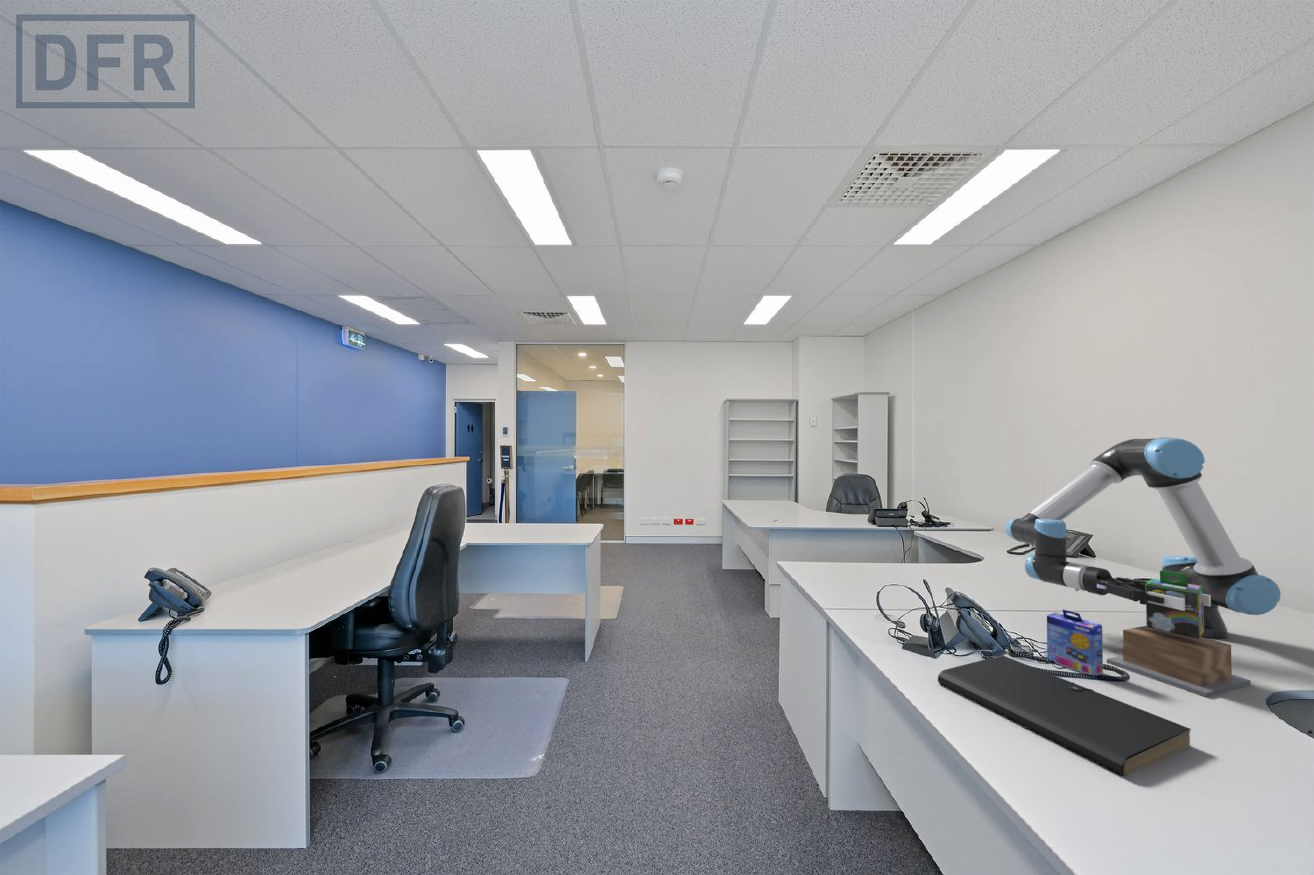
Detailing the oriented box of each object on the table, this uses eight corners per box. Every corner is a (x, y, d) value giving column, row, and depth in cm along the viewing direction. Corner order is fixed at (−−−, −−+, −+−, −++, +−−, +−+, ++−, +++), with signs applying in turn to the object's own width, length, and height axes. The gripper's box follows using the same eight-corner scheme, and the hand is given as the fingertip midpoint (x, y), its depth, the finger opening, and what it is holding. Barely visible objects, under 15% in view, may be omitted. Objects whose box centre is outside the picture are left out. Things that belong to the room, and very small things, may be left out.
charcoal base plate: (1150, 653, 128) (1150, 649, 129) (1250, 684, 112) (1250, 680, 112) (1106, 662, 122) (1106, 658, 122) (1206, 697, 105) (1205, 692, 105)
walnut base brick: (1154, 653, 126) (1153, 624, 126) (1231, 677, 112) (1231, 644, 113) (1123, 660, 121) (1123, 629, 121) (1200, 686, 108) (1199, 651, 108)
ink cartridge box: (1045, 661, 122) (1045, 605, 122) (1055, 657, 125) (1055, 603, 125) (1093, 677, 113) (1093, 618, 114) (1103, 673, 116) (1103, 615, 116)
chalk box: (1204, 632, 116) (1204, 572, 116) (1200, 640, 111) (1199, 578, 111) (1151, 620, 124) (1151, 565, 124) (1144, 627, 118) (1144, 569, 119)
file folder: (1191, 726, 87) (1121, 757, 78) (1191, 748, 87) (1121, 782, 78) (1003, 653, 117) (937, 670, 108) (1003, 670, 117) (937, 687, 108)
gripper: (1112, 588, 138) (1222, 613, 117) (1062, 595, 130) (1170, 623, 109) (1112, 563, 138) (1222, 584, 117) (1062, 568, 130) (1170, 591, 110)
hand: (1197, 602), depth 113 cm, fingers closed on chalk box, 11 cm apart
